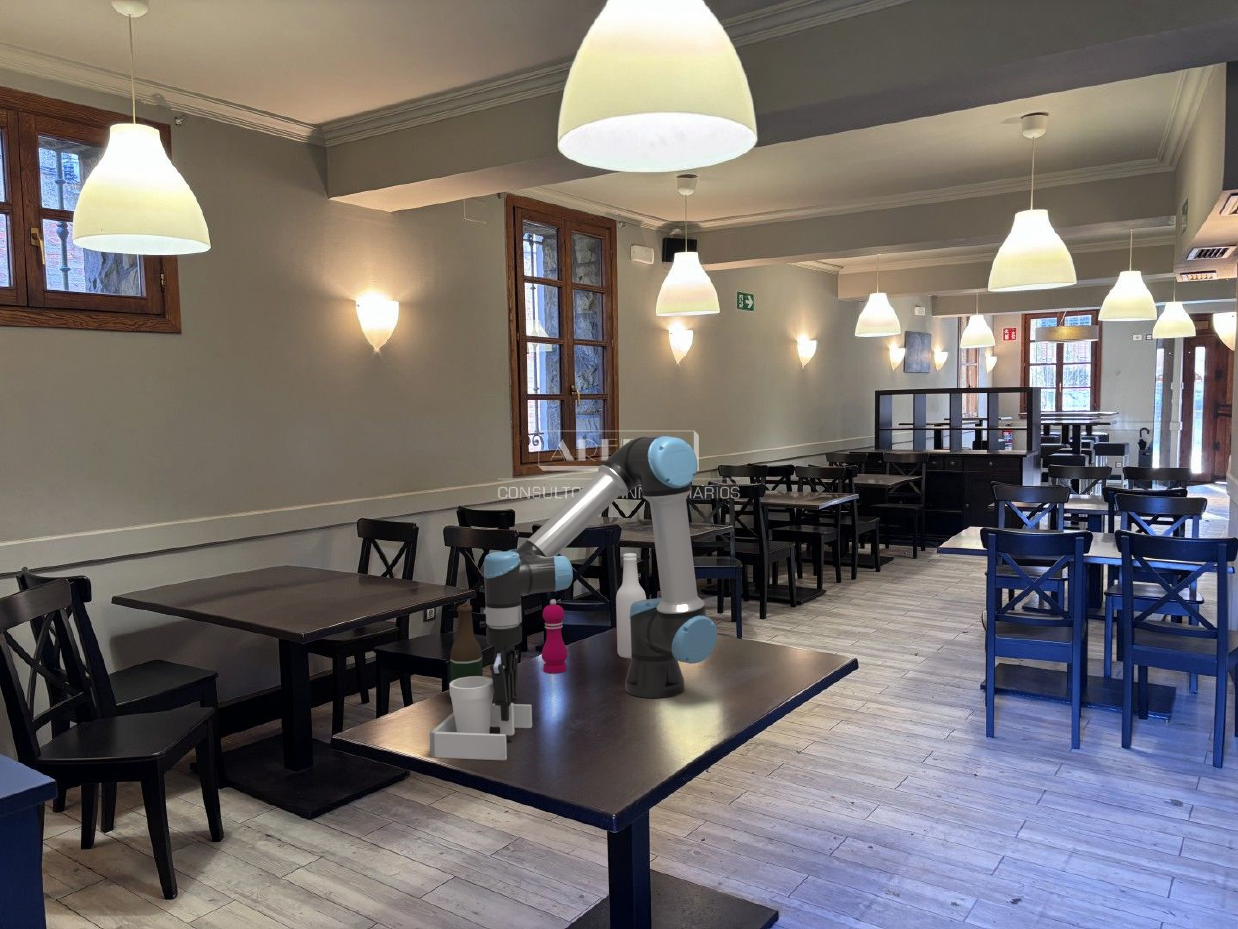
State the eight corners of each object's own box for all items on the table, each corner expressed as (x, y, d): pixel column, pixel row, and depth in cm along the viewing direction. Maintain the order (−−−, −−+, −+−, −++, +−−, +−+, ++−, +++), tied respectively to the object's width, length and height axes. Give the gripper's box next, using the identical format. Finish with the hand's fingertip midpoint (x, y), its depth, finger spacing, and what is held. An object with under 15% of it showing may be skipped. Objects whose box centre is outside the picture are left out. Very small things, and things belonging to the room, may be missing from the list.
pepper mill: (564, 674, 234) (562, 602, 233) (538, 673, 236) (536, 601, 235) (570, 667, 241) (568, 596, 240) (546, 666, 243) (544, 596, 242)
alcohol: (620, 660, 248) (618, 556, 247) (614, 652, 256) (612, 552, 255) (650, 657, 249) (647, 555, 248) (643, 650, 258) (641, 551, 257)
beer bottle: (468, 708, 207) (465, 610, 206) (445, 703, 211) (441, 607, 210) (490, 699, 214) (487, 604, 213) (466, 695, 218) (463, 601, 217)
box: (532, 726, 193) (531, 704, 193) (505, 760, 173) (504, 736, 173) (464, 724, 196) (463, 702, 196) (430, 757, 176) (429, 733, 176)
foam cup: (449, 737, 187) (447, 678, 187) (491, 732, 190) (490, 674, 190) (454, 752, 178) (452, 691, 178) (498, 747, 181) (496, 686, 181)
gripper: (496, 618, 190) (500, 723, 191) (476, 631, 177) (480, 744, 178) (529, 618, 189) (532, 724, 189) (511, 632, 176) (515, 745, 177)
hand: (507, 733), depth 184 cm, fingers closed
